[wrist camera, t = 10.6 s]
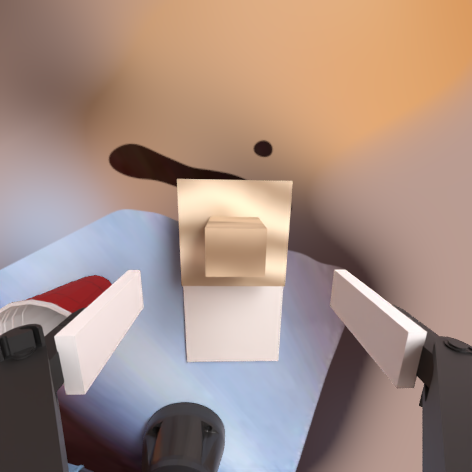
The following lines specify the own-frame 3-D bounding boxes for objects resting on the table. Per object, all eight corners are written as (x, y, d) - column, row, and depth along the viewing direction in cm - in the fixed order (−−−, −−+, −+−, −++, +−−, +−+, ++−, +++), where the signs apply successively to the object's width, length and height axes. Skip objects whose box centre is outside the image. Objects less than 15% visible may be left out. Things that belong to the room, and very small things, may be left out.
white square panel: (277, 358, 41) (278, 360, 40) (187, 359, 40) (187, 361, 40) (282, 275, 37) (283, 276, 36) (183, 275, 37) (182, 276, 36)
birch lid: (283, 283, 32) (300, 316, 24) (182, 283, 32) (168, 316, 24) (290, 181, 29) (313, 181, 21) (178, 179, 28) (159, 179, 21)
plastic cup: (67, 321, 38) (-4, 384, 26) (58, 260, 35) (-26, 299, 24) (133, 322, 38) (92, 385, 27) (129, 262, 36) (80, 302, 24)
